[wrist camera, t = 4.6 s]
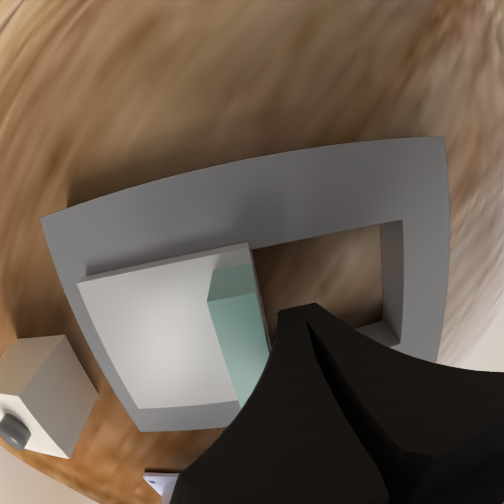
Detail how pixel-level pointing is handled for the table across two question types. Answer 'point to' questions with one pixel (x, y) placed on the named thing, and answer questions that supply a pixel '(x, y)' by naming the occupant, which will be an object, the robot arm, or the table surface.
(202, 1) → the table surface
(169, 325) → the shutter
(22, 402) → the plug
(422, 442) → the robot arm
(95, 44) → the table surface
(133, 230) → the socket plate
